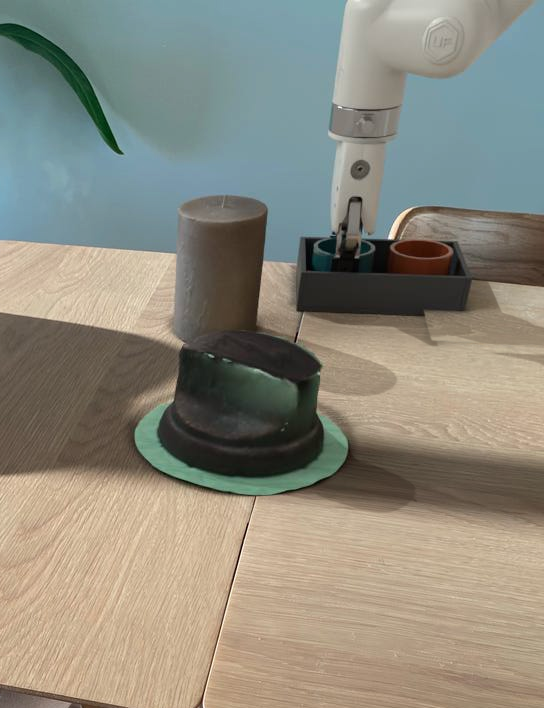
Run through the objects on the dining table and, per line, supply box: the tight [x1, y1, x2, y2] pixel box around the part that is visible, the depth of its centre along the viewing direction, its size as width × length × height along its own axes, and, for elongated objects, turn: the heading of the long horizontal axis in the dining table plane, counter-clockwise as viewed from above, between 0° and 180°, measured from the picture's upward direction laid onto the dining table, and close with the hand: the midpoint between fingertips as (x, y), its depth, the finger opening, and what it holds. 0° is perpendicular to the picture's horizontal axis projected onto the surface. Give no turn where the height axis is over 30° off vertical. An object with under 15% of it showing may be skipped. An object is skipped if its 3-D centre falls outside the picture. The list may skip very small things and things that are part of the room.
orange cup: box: [385, 238, 453, 276], centre depth 118 cm, size 7×7×5 cm
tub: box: [295, 236, 473, 317], centre depth 119 cm, size 19×13×5 cm
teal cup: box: [310, 237, 375, 273], centre depth 119 cm, size 7×7×5 cm
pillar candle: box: [173, 194, 269, 343], centre depth 108 cm, size 10×10×15 cm
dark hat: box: [134, 330, 349, 496], centre depth 91 cm, size 15×19×20 cm
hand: (339, 279), depth 120 cm, fingers closed on teal cup, 7 cm apart
